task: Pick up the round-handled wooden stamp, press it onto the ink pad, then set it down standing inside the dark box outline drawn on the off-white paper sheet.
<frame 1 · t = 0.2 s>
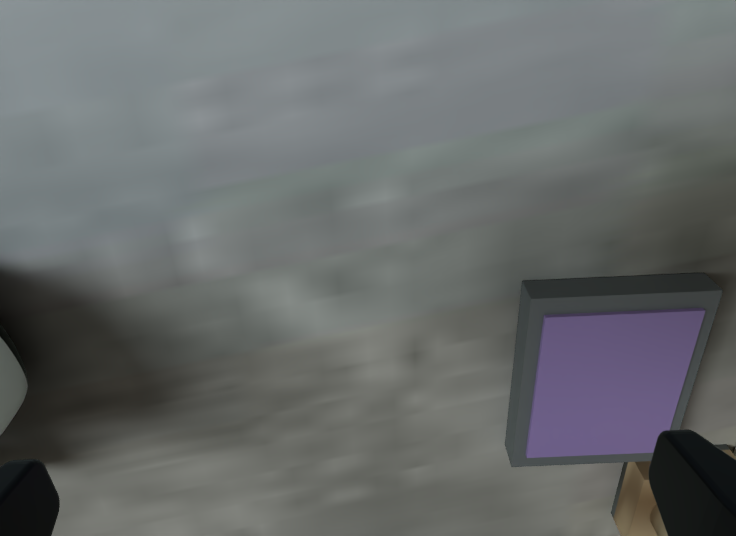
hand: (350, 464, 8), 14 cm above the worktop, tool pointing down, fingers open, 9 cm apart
ink pad: (595, 366, 26), on the worktop
stamp: (665, 479, 30), on the worktop
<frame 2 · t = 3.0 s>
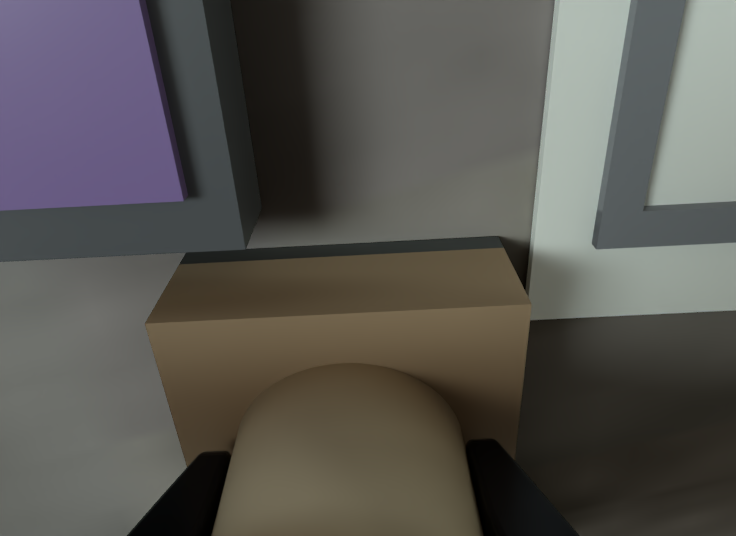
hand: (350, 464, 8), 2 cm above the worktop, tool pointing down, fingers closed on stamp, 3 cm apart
stamp: (351, 367, 10), on the worktop, touching gripper
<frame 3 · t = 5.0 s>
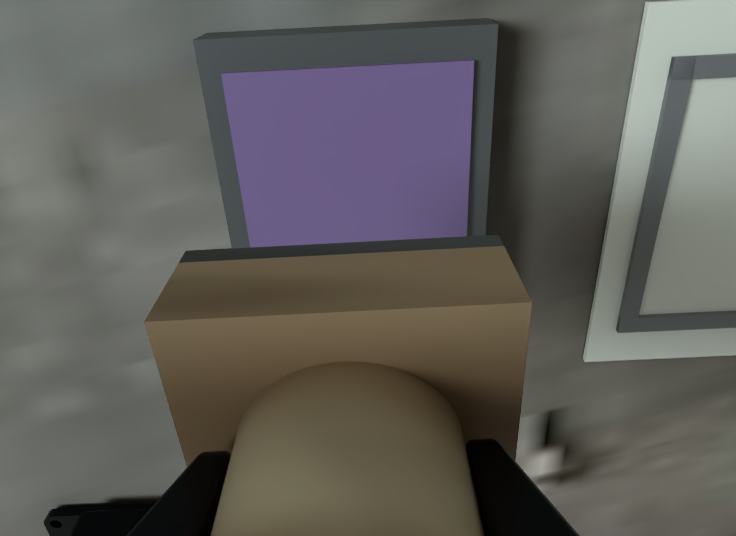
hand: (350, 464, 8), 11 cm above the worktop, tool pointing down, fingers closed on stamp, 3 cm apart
ink pad: (356, 192, 18), on the worktop
stamp: (351, 366, 10), point 8 cm above the worktop, touching gripper
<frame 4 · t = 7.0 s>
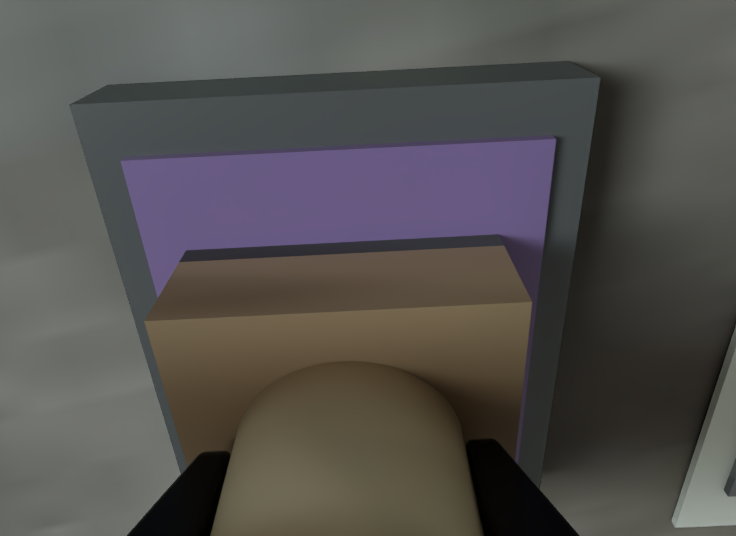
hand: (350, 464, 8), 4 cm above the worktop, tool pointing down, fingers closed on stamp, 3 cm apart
ink pad: (354, 315, 12), on the worktop
stamp: (351, 365, 10), point 2 cm above the worktop, touching gripper, ink pad
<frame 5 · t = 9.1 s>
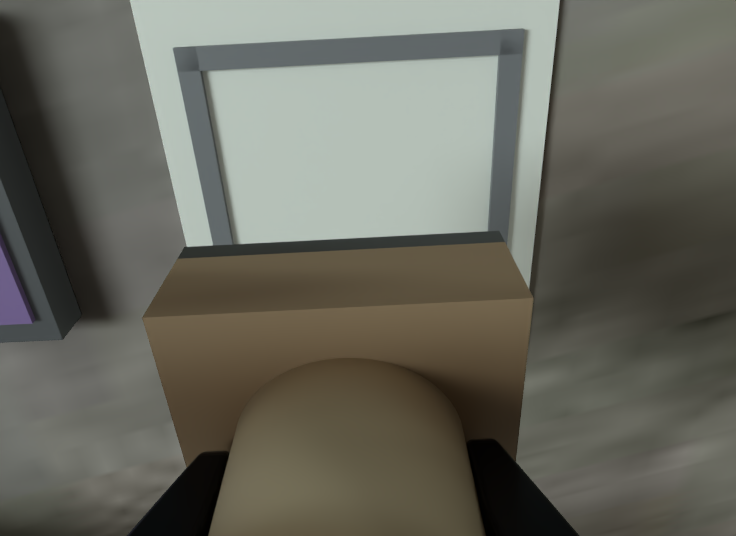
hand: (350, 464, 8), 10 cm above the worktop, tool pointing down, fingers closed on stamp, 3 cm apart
stamp: (351, 363, 10), point 8 cm above the worktop, touching gripper
sheet: (358, 197, 17), on the worktop
when the fingers open (3 cm above the worktop, at t = 10.9 s): stamp stays where it is, resting on sheet.
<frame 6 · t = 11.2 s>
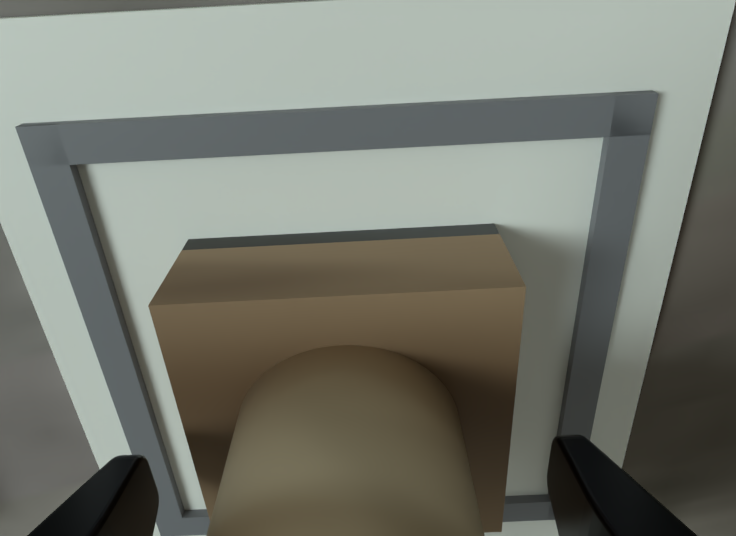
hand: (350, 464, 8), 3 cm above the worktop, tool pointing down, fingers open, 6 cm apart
stamp: (350, 353, 10), resting on sheet
sheet: (354, 351, 11), on the worktop
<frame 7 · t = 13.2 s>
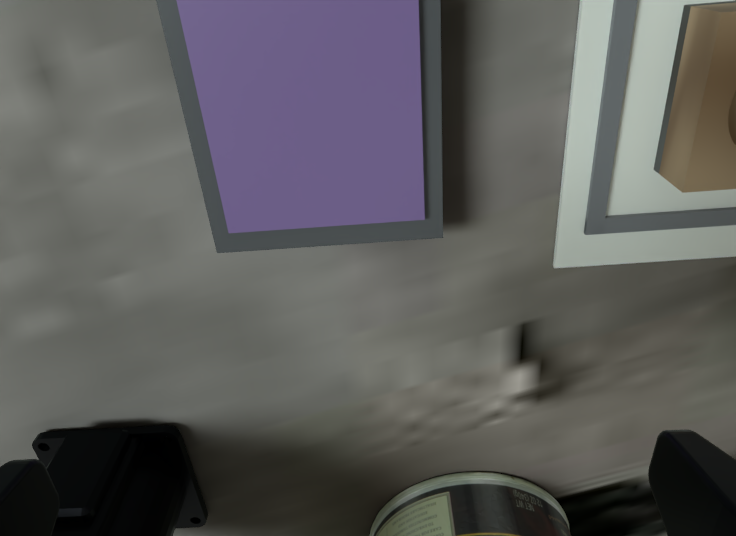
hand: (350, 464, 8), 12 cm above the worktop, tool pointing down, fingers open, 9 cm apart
ink pad: (314, 89, 18), on the worktop
coffee can: (465, 533, 29), on the worktop
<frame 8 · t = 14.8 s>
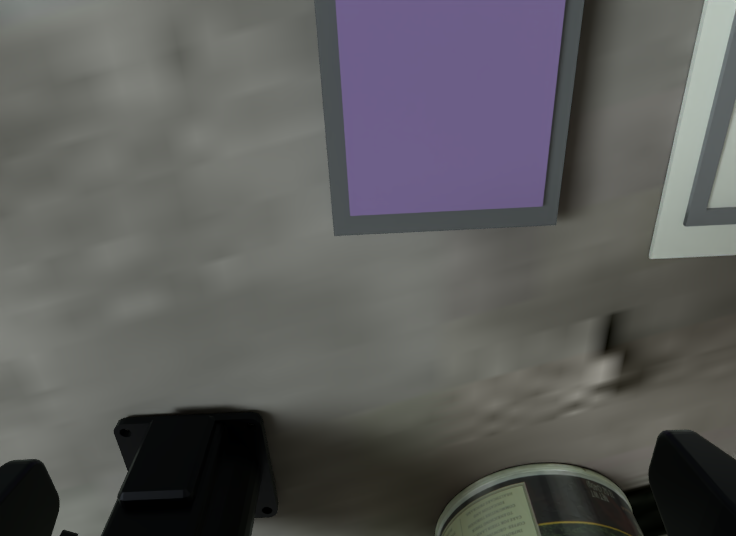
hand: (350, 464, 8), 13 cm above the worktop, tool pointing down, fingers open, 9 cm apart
ink pad: (441, 77, 18), on the worktop
coffee can: (529, 526, 29), on the worktop
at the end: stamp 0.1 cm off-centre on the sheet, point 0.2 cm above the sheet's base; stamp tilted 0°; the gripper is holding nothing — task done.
